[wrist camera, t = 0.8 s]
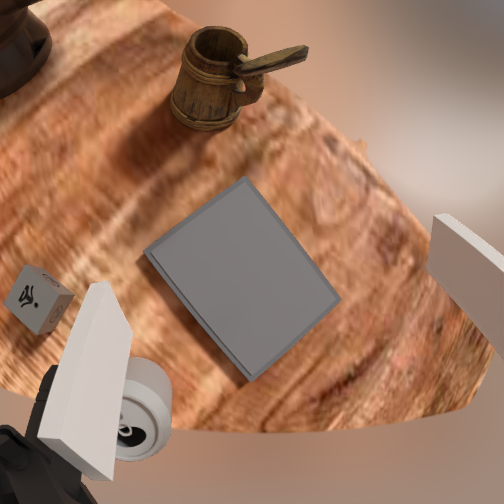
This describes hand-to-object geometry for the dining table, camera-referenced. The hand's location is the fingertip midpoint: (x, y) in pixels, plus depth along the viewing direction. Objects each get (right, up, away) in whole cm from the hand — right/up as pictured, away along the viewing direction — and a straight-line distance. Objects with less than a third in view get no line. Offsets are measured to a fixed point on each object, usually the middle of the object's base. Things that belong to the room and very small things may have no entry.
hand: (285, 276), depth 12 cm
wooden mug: (-6, +18, +26) cm, 32 cm away
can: (-14, -14, +20) cm, 28 cm away
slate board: (-2, -2, +24) cm, 24 cm away
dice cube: (-24, -4, +19) cm, 31 cm away
